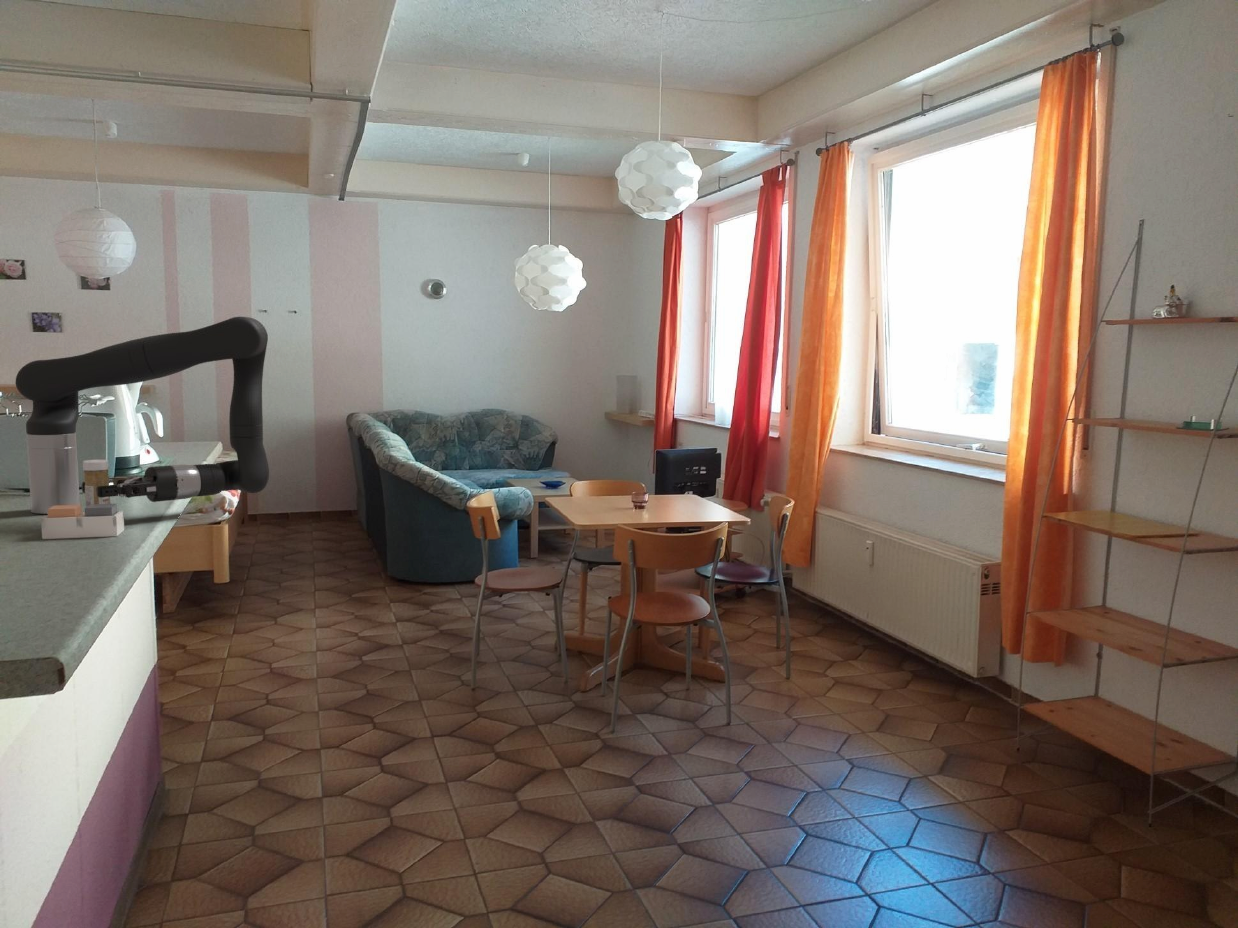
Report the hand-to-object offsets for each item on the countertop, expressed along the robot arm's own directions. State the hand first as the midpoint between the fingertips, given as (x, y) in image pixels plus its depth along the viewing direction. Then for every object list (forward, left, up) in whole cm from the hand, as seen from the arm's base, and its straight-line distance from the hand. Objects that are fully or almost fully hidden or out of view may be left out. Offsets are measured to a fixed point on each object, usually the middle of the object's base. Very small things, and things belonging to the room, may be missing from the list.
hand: (89, 489), depth 183 cm
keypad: (+9, +1, -8) cm, 12 cm away
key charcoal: (+9, +4, -4) cm, 10 cm away
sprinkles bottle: (-1, +1, -8) cm, 8 cm away
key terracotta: (+9, -2, -4) cm, 10 cm away
